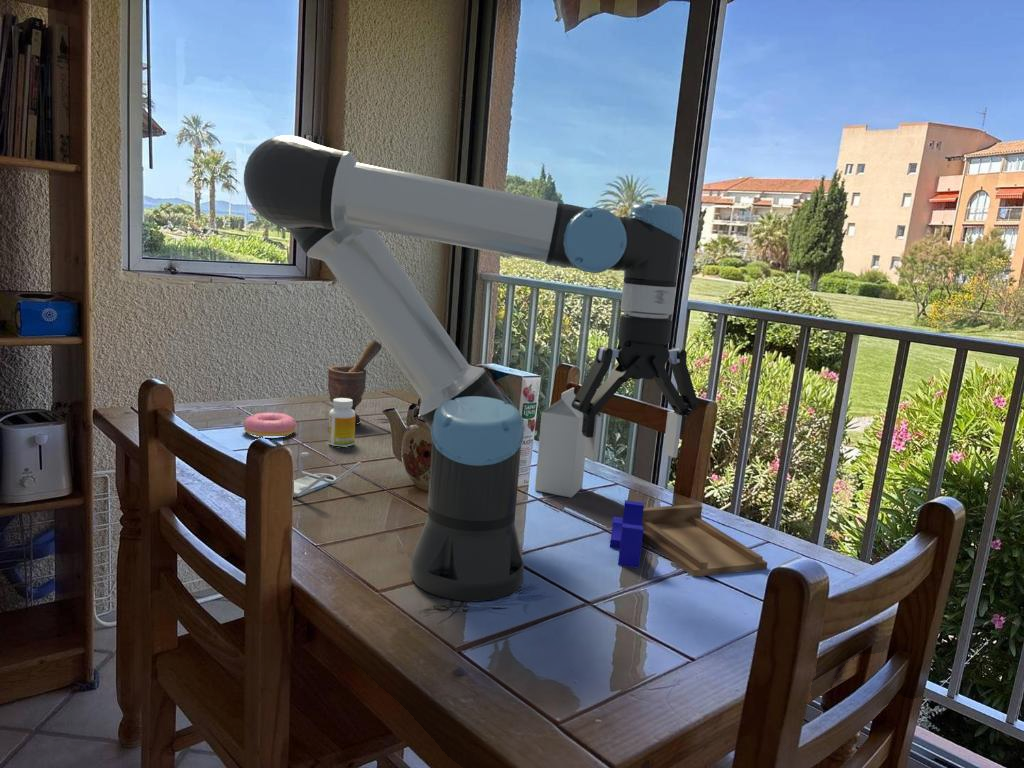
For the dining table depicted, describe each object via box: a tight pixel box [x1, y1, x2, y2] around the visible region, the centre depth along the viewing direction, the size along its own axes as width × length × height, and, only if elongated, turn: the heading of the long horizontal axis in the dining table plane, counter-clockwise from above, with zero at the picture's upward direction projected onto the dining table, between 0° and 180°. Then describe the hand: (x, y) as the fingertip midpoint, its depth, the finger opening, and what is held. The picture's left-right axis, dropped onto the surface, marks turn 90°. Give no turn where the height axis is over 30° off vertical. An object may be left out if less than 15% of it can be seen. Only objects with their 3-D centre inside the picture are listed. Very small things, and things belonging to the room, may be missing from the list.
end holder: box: [642, 503, 768, 578], centre depth 115 cm, size 13×18×4 cm
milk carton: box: [534, 387, 586, 499], centre depth 137 cm, size 7×7×19 cm
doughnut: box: [242, 412, 298, 439], centre depth 160 cm, size 11×11×4 cm
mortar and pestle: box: [327, 340, 383, 424], centre depth 173 cm, size 12×9×20 cm
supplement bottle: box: [327, 398, 356, 447], centre depth 155 cm, size 5×5×10 cm
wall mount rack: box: [293, 452, 362, 498], centre depth 127 cm, size 16×14×6 cm
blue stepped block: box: [609, 499, 645, 569], centre depth 112 cm, size 12×4×6 cm, turn 170°
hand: (631, 456), depth 110 cm, fingers open, 13 cm apart
